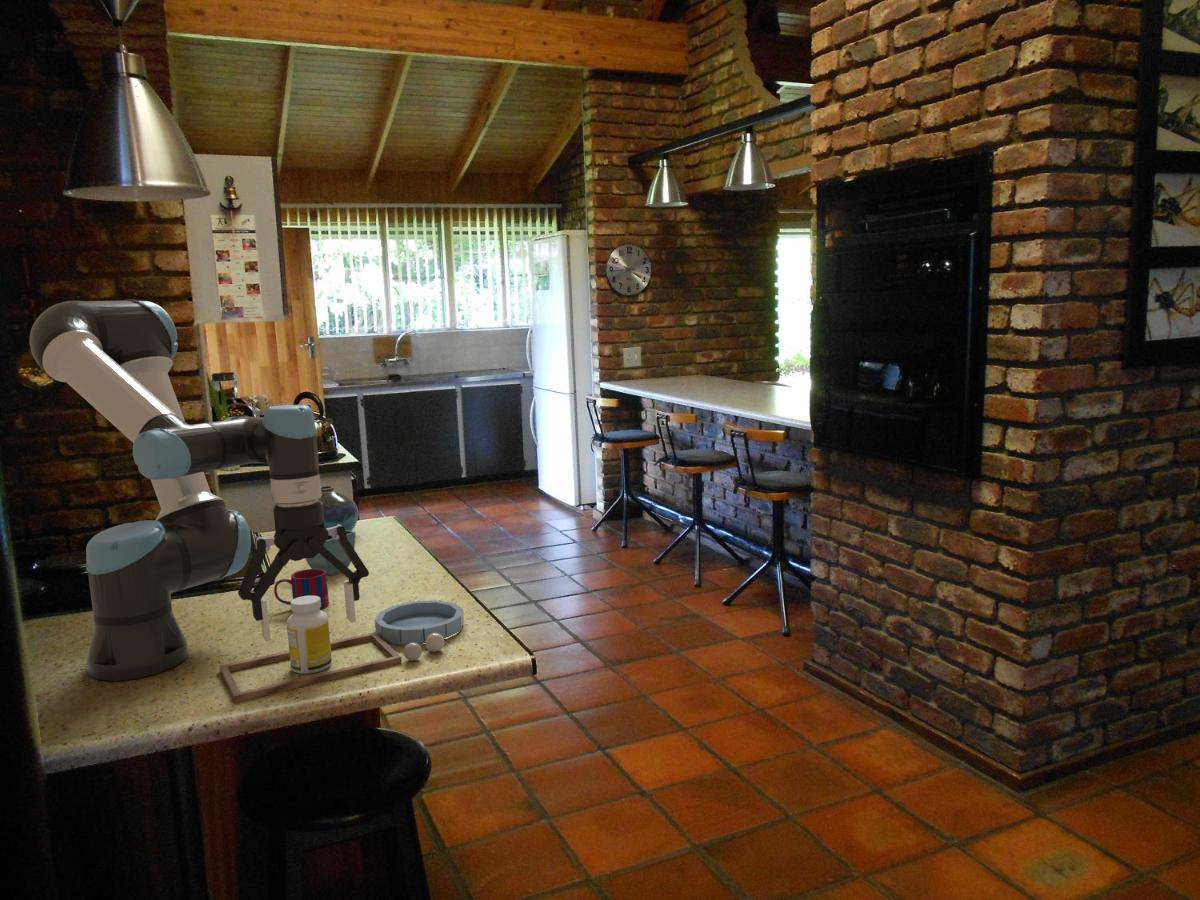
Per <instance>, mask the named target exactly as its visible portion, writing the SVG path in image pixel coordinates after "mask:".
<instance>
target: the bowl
mask: <svg viewBox="0 0 1200 900" xmlns="http://www.w3.org/2000/svg"><path fill="white" fill-rule="evenodd" d="M464 618H465V617H464V609H463V608H462V607H461V606H459V604H457V603H455V602H451V601H450V602H449V601H445V600H439V599H438V600H434V599H433V600H416V601H415V600H413V601H409V602H404V603H399V604H396V605H392V606H390V607H388V608H385V609H383V610H381V611H379V612H378V614H377V615H376V617H375V619H374V629H375V632H376V633H377V634H378V635H379V636H380V637H381V638H382V639H383V640H384V641H385V642H386V643H387V644H389V643H390V645H394V644H395V645H396V646H404V645H407V644H409V643H412V642H414V643H417V644H423V643H426V639H427V637H428V636H429V635H430V634H432V633H439V634H441V635H442V636H443V638H446V637H449V636H451V635H453V634H455V633H457V632H459V631H460V630H461V629H462V626H463V627H464V623H465V619H464ZM462 630H463V629H462ZM462 630H461V631H462ZM461 631H460V632H461ZM460 632H459V633H460ZM395 645H394V646H395Z"/></svg>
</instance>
